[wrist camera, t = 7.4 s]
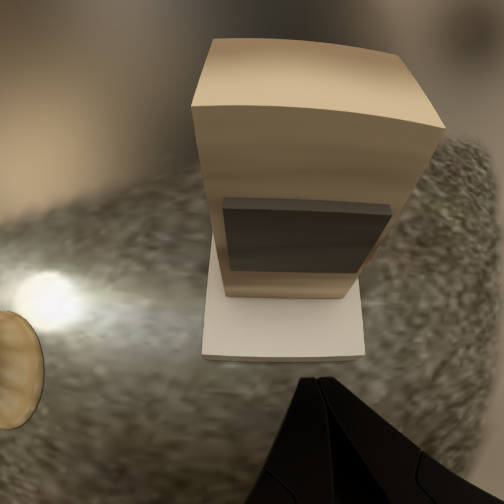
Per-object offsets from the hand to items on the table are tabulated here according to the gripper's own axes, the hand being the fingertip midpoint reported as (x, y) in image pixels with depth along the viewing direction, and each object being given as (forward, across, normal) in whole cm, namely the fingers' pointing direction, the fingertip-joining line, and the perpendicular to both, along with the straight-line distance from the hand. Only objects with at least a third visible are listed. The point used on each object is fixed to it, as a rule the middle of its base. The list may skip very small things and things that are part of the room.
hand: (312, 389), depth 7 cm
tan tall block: (+10, 0, 0) cm, 10 cm away
